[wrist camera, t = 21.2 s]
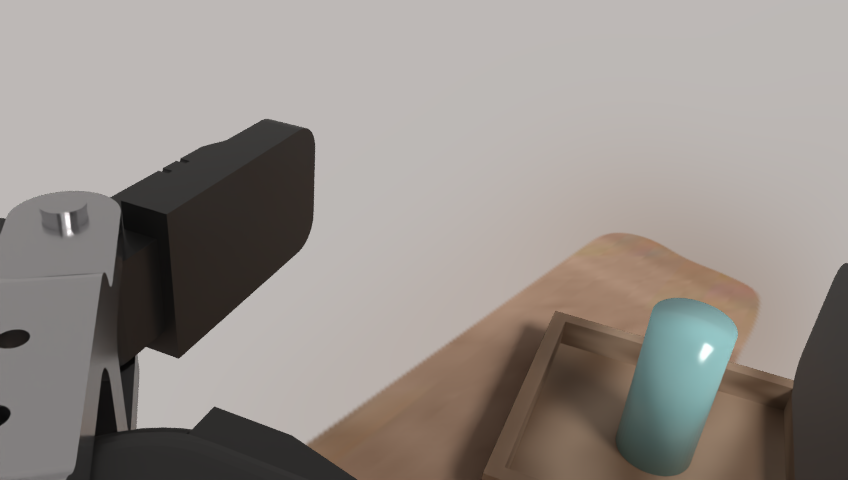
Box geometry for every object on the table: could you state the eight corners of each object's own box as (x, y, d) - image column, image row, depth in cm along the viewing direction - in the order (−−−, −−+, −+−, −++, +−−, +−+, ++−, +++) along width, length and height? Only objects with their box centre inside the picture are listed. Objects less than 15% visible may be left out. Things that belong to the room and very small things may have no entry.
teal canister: (695, 435, 51) (740, 313, 46) (686, 487, 47) (734, 359, 42) (623, 411, 52) (658, 289, 47) (608, 458, 48) (645, 331, 43)
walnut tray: (794, 417, 55) (808, 384, 53) (803, 632, 40) (823, 596, 39) (548, 342, 60) (555, 310, 58) (476, 509, 45) (482, 473, 44)
